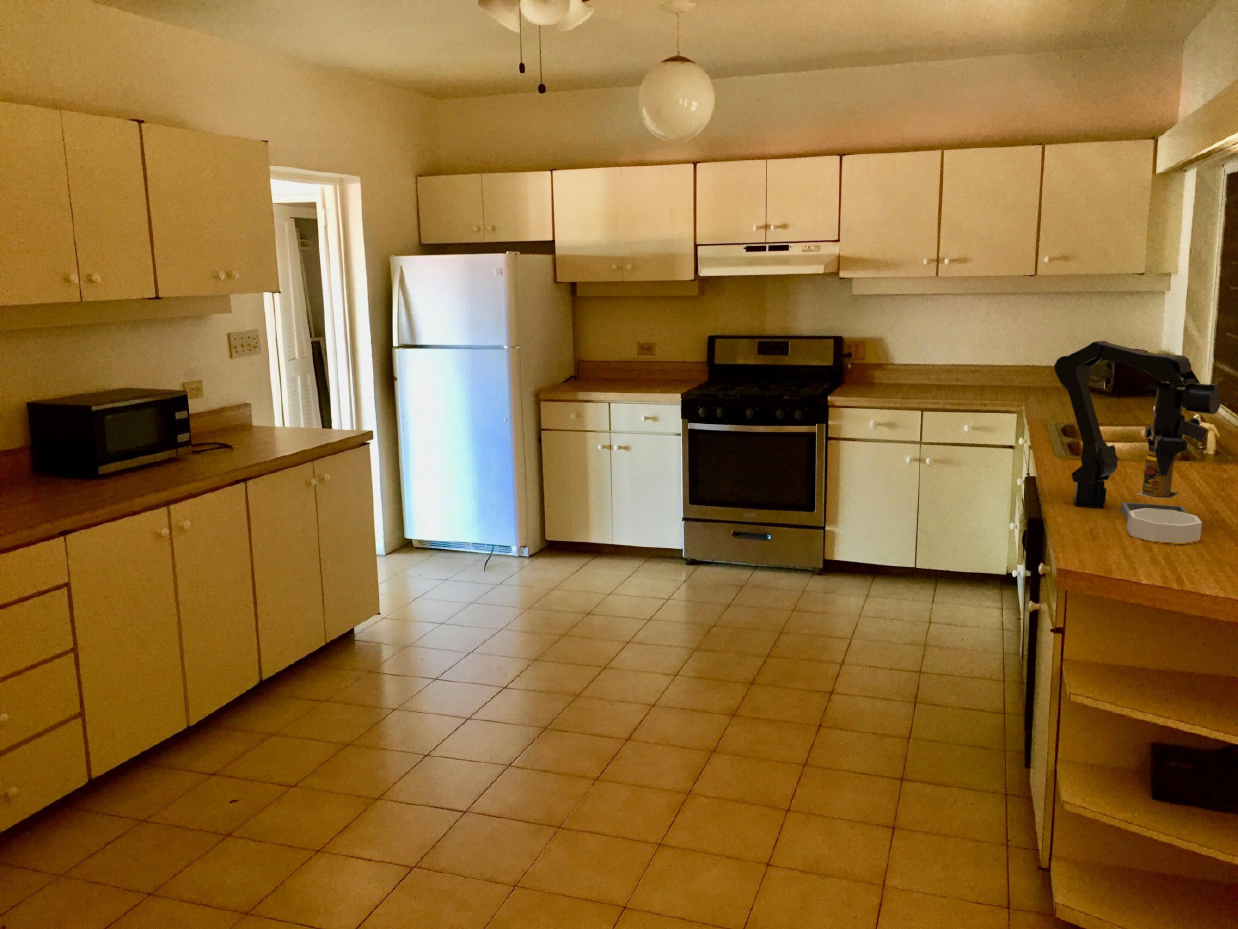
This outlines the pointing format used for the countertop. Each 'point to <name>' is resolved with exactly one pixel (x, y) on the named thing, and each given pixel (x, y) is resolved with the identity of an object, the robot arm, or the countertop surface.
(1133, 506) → the open square frame
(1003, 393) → the countertop surface
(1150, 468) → the condiment
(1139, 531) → the bowl
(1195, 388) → the robot arm
